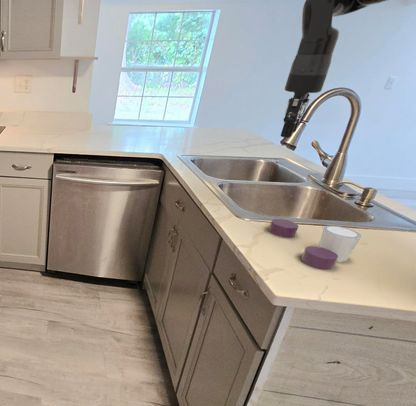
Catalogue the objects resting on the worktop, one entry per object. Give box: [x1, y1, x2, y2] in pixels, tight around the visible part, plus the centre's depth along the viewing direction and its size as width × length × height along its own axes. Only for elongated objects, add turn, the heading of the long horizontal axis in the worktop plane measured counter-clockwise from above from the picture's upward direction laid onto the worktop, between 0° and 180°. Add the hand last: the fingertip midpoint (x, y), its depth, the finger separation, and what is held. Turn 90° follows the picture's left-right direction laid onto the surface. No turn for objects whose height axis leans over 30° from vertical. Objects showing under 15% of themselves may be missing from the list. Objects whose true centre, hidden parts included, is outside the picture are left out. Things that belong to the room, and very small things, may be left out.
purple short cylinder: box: [300, 245, 338, 271], centre depth 89 cm, size 6×6×3 cm
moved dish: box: [268, 218, 299, 239], centre depth 103 cm, size 6×6×3 cm
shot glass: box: [318, 225, 362, 263], centre depth 90 cm, size 7×7×7 cm
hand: (287, 134), depth 101 cm, fingers open, 8 cm apart
